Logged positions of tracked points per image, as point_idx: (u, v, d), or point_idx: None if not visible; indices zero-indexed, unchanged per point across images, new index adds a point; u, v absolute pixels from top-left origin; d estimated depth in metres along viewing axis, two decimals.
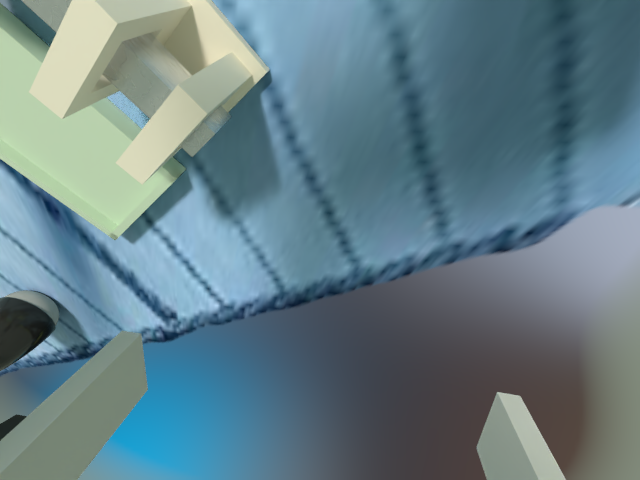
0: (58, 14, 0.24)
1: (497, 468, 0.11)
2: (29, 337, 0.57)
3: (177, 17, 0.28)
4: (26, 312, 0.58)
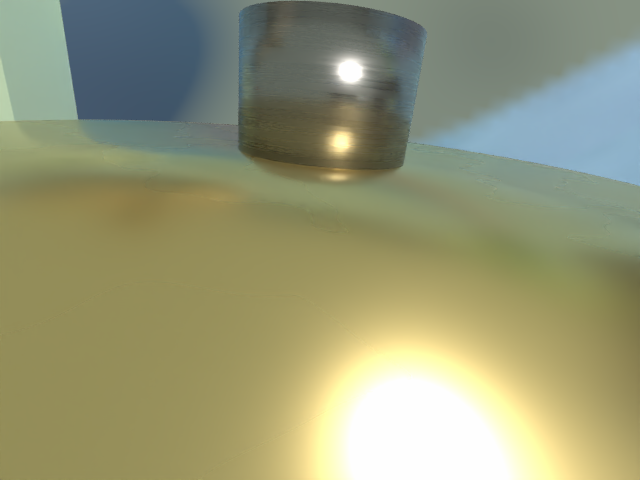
0: None
1: None
2: None
3: None
4: None
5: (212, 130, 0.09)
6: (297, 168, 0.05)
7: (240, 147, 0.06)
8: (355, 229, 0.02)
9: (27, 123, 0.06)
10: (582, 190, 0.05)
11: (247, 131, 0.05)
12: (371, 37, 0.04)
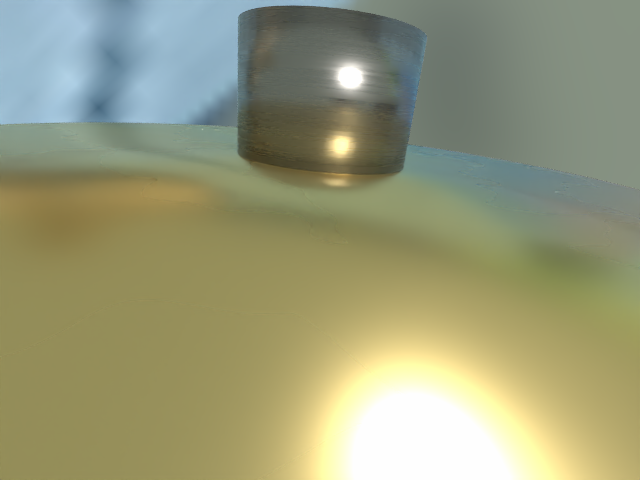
0: None
1: None
2: None
3: None
4: None
5: (211, 133, 0.08)
6: (296, 173, 0.05)
7: (239, 151, 0.06)
8: (354, 238, 0.02)
9: (26, 127, 0.06)
10: (583, 195, 0.05)
11: (246, 136, 0.05)
12: (371, 42, 0.04)
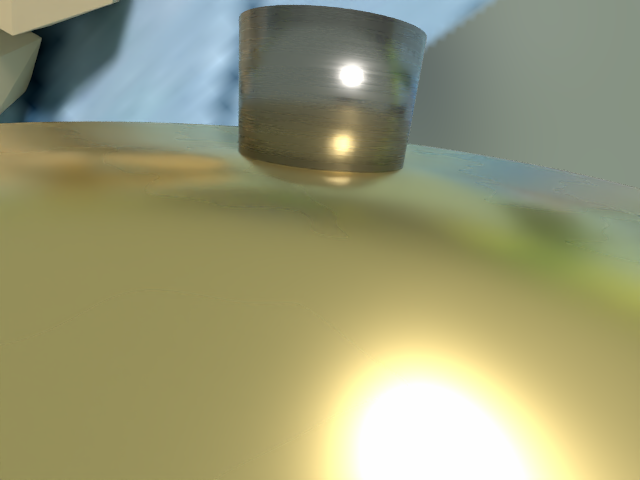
0: None
1: None
2: None
3: None
4: None
5: (212, 132, 0.09)
6: (297, 171, 0.05)
7: (240, 150, 0.06)
8: (355, 234, 0.03)
9: (28, 125, 0.06)
10: (581, 193, 0.05)
11: (247, 134, 0.05)
12: (371, 41, 0.04)
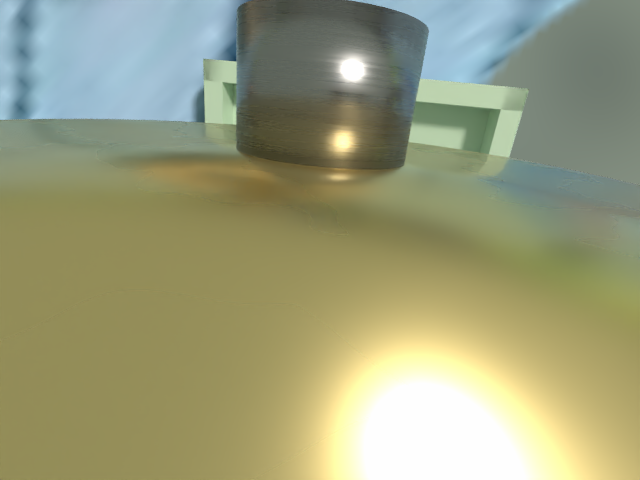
0: None
1: None
2: None
3: None
4: None
5: (210, 129, 0.08)
6: (296, 168, 0.04)
7: (238, 146, 0.06)
8: (355, 230, 0.02)
9: (22, 122, 0.06)
10: (587, 190, 0.05)
11: (245, 131, 0.05)
12: (372, 34, 0.04)
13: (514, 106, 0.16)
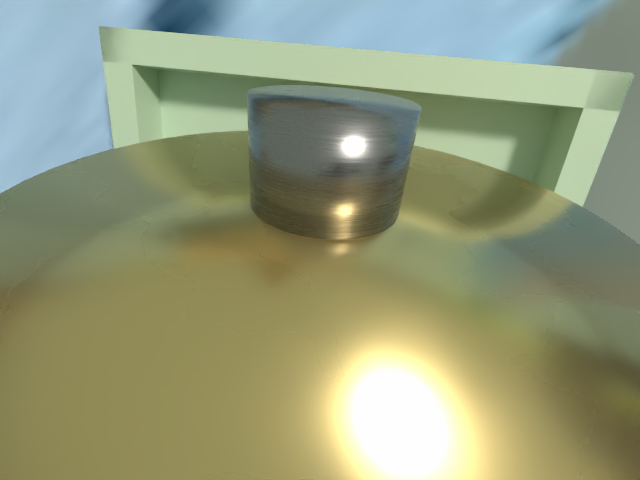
0: None
1: None
2: None
3: None
4: None
5: (221, 155, 0.09)
6: (304, 246, 0.05)
7: (252, 207, 0.06)
8: (350, 369, 0.03)
9: (58, 177, 0.07)
10: (552, 249, 0.06)
11: (259, 201, 0.06)
12: (368, 137, 0.05)
13: (607, 102, 0.10)
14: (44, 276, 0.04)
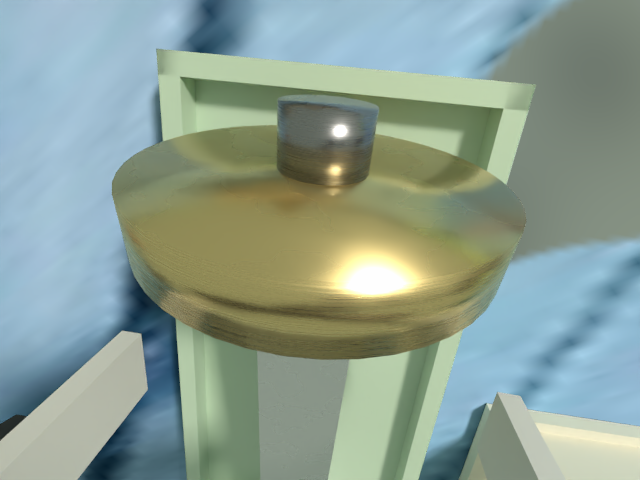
0: (287, 448, 0.16)
1: (497, 468, 0.11)
2: None
3: None
4: None
5: (251, 141, 0.13)
6: (312, 188, 0.09)
7: (279, 169, 0.10)
8: (336, 229, 0.08)
9: (154, 153, 0.11)
10: (457, 192, 0.10)
11: (284, 164, 0.10)
12: (347, 125, 0.09)
13: (519, 105, 0.14)
14: (179, 196, 0.08)
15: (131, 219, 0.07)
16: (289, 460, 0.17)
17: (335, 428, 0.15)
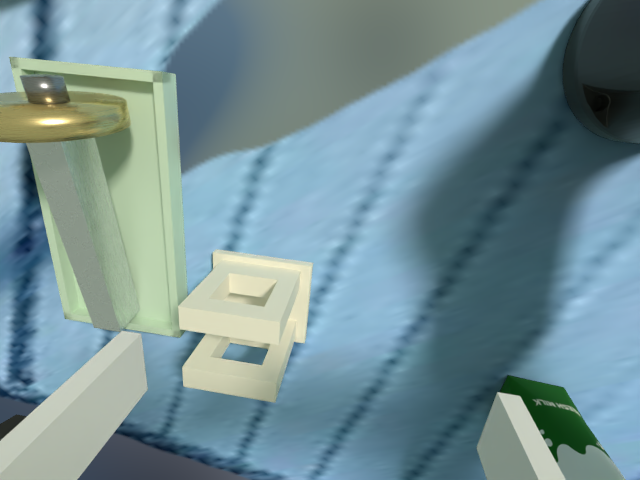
0: (73, 240, 0.35)
1: (497, 468, 0.11)
2: None
3: None
4: None
5: None
6: (31, 104, 0.28)
7: None
8: (16, 110, 0.26)
9: None
10: (87, 107, 0.29)
11: (26, 97, 0.29)
12: (37, 82, 0.28)
13: (158, 80, 0.33)
14: None
15: None
16: (77, 248, 0.36)
17: (85, 223, 0.34)
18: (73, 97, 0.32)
